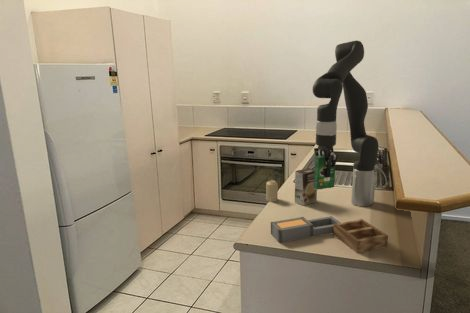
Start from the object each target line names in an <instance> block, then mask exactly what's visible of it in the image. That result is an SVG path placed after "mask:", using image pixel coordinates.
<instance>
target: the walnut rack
mask: <svg viewBox="0 0 470 313" xmlns="http://www.w3.org/2000/svg"><path fill="white" fill-rule="evenodd" d="M332 234H333V236H334V237H335V238H337V239H338V240H340V241H341V242H342V243H343V244H345V245H346V246H347V247H348V248H349V249H351V250H352V251H354V252H355V254H358V253H359V254H360V253H364V252H368V251H369V252H370V251H373V250H378V249H383V248H388V242H389V234H386V233H385V232H384V231H382V230H380V229H379V228H377V227H375V226H374V225H372V224H370V223H369V222H367V221H366V220H364V219H362V218H361V219H357V220H349V221H344V222H341V223H338V224H334V231H333V233H332Z"/></svg>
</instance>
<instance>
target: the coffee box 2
mask: <svg viewBox="0 0 470 313" xmlns="http://www.w3.org/2000/svg"><path fill="white" fill-rule="evenodd" d="M326 160H329V159H326ZM327 165H328V162H327ZM324 168H325V165H324V162H323V156H315V155H314V170H315V172H314V188H315V189H316V190H317V191H318V190H323V189H331V188H335V175H336V166H335V167H334V168H331V169H330V177H328V178H325V177H324Z"/></svg>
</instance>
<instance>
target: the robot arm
mask: <svg viewBox="0 0 470 313" xmlns="http://www.w3.org/2000/svg"><path fill="white" fill-rule="evenodd" d="M334 54H335V55H334V56H335V61H336V62H335V63H333V64H332V65H331V67H330V68H329V69H328V70H327V72H325V73H323V74H322V75H321V76H319V77H318V78H317V79H316V80H315V81H314V83H313V84H312V94H313V95H314V97H316V98H318V99H330V100H329V102H328V103H324V104H320V105H318V106H317V110H316V126H315V144H316V145H317V147H315V148H313V151H314V157H315V156H323V162H324V165H325V168H324V177H325V178H328V177H330V169H331V168H334V167H335V168H336V163H337V160H338V158H339V154H335V151H334V146H337V127H338V126H337V113H338V112H337V110H338V106H339V102H340V99H341V96H342V93H343V96H344V102H345V108H346V112H347V117H348V123H349V130H350V131H349V134H350V144H351V148H352V150H353V151H354V152H356V153H357V154H359V159H358V160H356V161H354V162H353V166H352V167H353V169H352V170H353V171H352V188H351V204H353V205H354V206H358V207H369V206H372V205H374V204H375V203H374V202H375V188H376V185H375V184H374V181H375V180H374V177H375V167H376V164H377V162H378V156H379V155H378V154H379V140H378V139H377V138H376V137H375V136H372V135H368V134H367V132H366V127H365V120H366V119H365V118H366V116H367V112H368V108H369V103H368V97H367V92H366V89H365V88H364V87H363V86H362V84H360V83H359V81H358V80H356V79H355V77H354V76H353V75H352V73H351V71H352V70H353V69H354V68H356V66H358V64H360V63H361V62H362V61H363V60H364V57H365V47H364V45H363V43H362V42H361V40H352V41H347V42H343V43H339V44H337V45H336V46H335V49H334ZM326 159H329V160H326ZM327 162H328V165H327Z"/></svg>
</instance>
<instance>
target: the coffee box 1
mask: <svg viewBox="0 0 470 313" xmlns="http://www.w3.org/2000/svg"><path fill="white" fill-rule="evenodd" d="M294 171H295V174H294V178H295V179H294V203H295V204H298V205H301V206H302V207H303V206H306V205H310V204H313V203H316V202H317V200H318V198H317V197H318V195H317V194H318V190H316V189H315V188H314V172H315V168H311V167H309V168H302V169H298V170H294Z"/></svg>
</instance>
